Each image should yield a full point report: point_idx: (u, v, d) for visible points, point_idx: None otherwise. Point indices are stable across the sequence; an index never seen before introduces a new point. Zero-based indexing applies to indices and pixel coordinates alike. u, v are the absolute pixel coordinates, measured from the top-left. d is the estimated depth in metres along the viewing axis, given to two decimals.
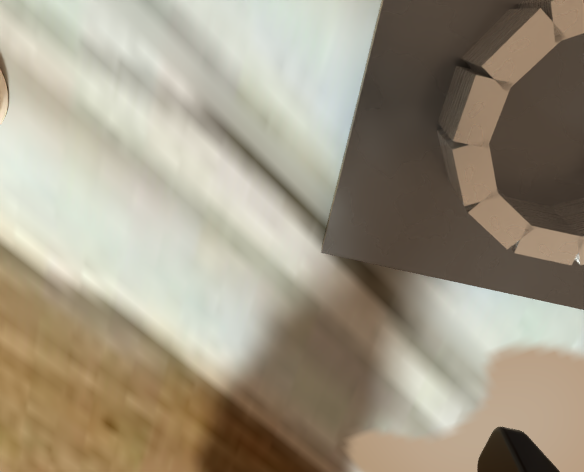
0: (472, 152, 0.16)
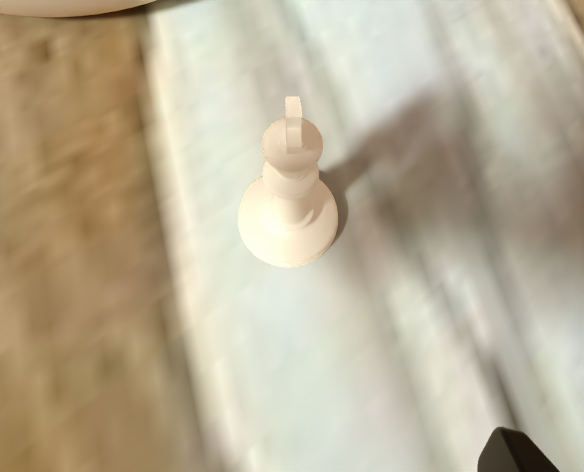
0: None
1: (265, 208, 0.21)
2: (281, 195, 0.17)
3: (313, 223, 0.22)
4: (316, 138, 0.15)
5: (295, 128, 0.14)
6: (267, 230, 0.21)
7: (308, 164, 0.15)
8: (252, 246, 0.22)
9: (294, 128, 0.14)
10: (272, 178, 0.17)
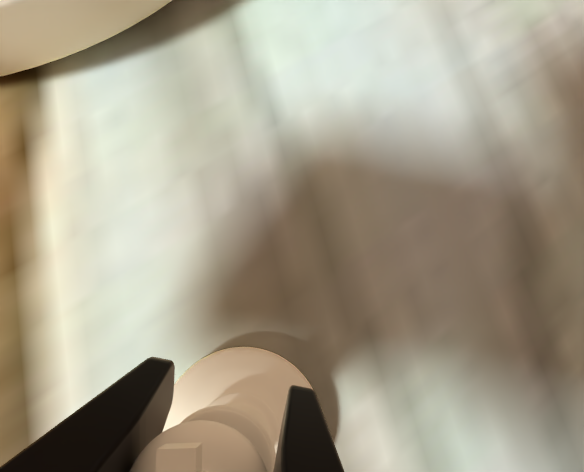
0: None
1: None
2: None
3: None
4: None
5: None
6: None
7: None
8: None
9: None
10: None
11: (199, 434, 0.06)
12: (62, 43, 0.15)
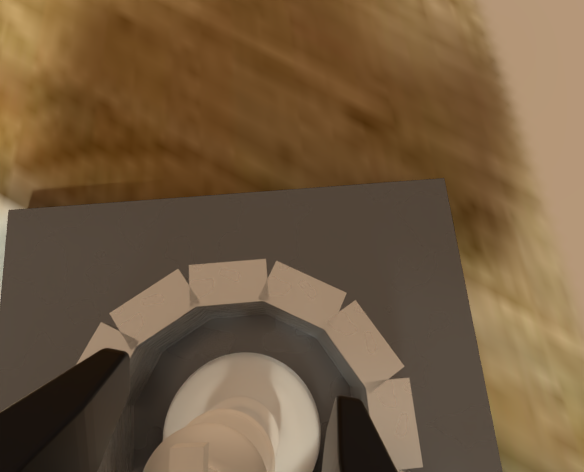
0: None
1: None
2: None
3: (279, 459, 0.13)
4: None
5: None
6: None
7: None
8: None
9: None
10: None
11: (205, 435, 0.07)
12: None
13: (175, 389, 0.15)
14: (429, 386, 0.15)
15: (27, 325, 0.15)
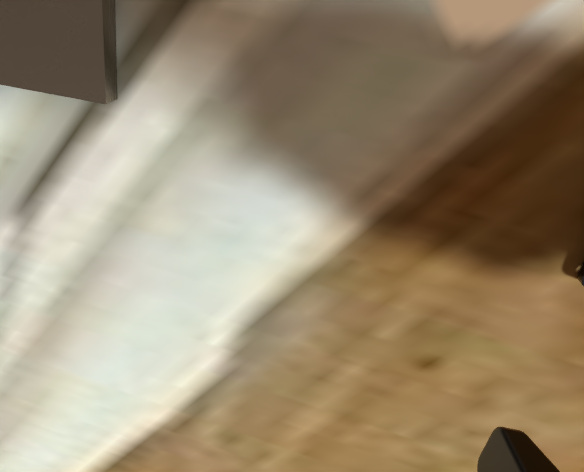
0: None
1: None
2: None
3: None
4: None
5: None
6: None
7: None
8: None
9: None
10: None
11: None
12: None
13: None
14: None
15: None
